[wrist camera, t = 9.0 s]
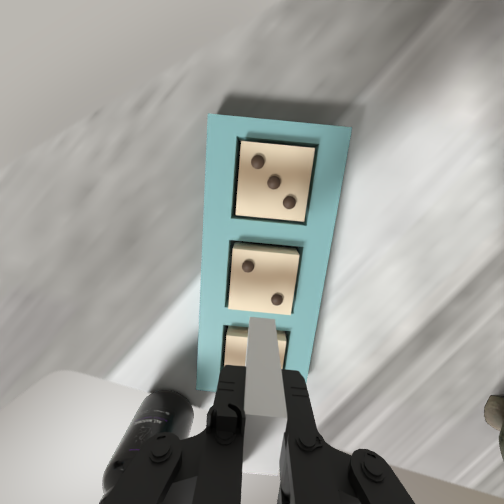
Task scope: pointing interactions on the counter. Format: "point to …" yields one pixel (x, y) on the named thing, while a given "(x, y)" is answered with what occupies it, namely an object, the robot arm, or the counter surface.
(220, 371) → the robot arm
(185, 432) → the supplement bottle
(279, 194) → the key three
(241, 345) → the key one
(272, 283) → the key two
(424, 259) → the counter surface
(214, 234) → the teal puzzle board
